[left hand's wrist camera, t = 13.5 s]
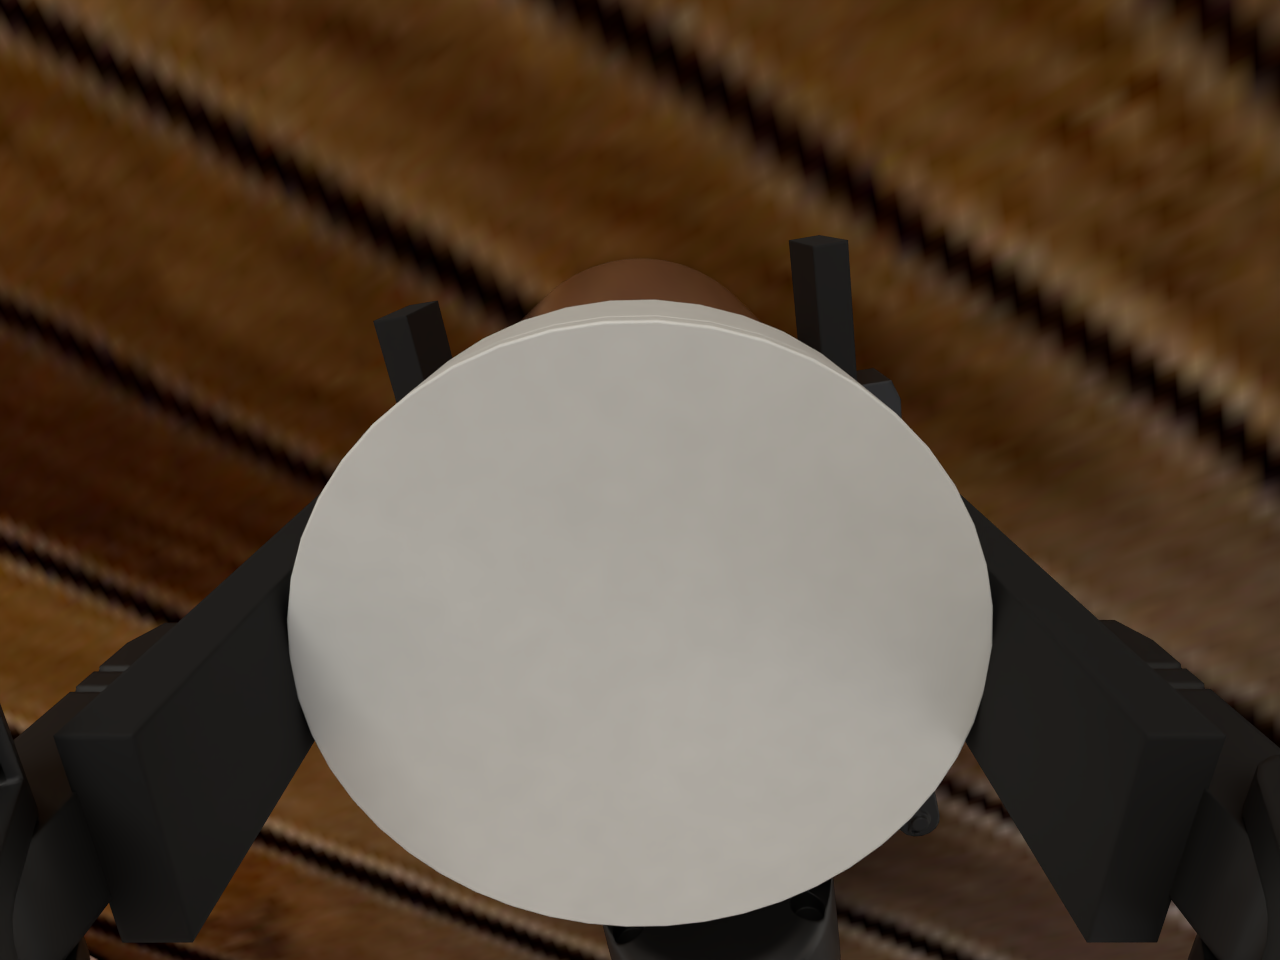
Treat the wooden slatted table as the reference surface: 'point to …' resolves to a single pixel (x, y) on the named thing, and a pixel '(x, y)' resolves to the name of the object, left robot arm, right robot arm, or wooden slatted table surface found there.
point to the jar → (640, 287)
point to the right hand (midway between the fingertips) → (608, 276)
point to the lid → (640, 617)
